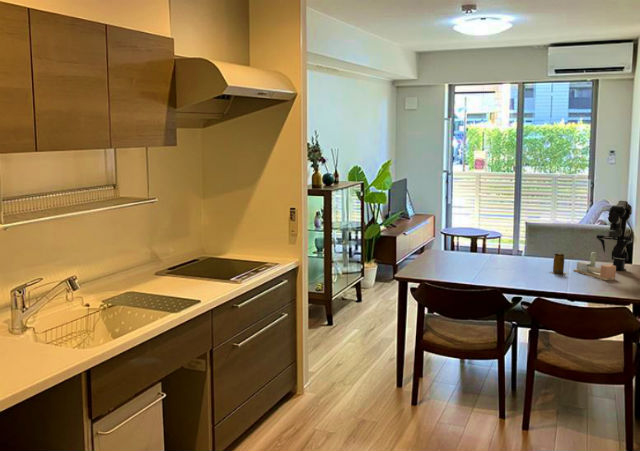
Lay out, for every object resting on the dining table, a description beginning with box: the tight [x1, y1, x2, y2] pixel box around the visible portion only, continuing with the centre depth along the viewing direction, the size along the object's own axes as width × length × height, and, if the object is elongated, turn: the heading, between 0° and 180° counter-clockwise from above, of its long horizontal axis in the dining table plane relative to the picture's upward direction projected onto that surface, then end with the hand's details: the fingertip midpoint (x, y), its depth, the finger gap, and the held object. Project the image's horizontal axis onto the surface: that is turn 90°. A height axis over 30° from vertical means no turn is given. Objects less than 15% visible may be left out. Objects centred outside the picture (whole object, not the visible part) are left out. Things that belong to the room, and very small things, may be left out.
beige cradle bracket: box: [587, 251, 601, 274], centre depth 381 cm, size 3×15×12 cm, turn 22°
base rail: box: [572, 268, 616, 281], centre depth 380 cm, size 7×26×1 cm, turn 22°
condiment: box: [549, 252, 569, 276], centre depth 383 cm, size 7×8×12 cm
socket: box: [600, 263, 617, 279], centre depth 370 cm, size 7×4×7 cm, turn 112°
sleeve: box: [576, 260, 592, 273], centre depth 386 cm, size 5×8×5 cm, turn 22°
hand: (612, 252), depth 368 cm, fingers open, 9 cm apart
